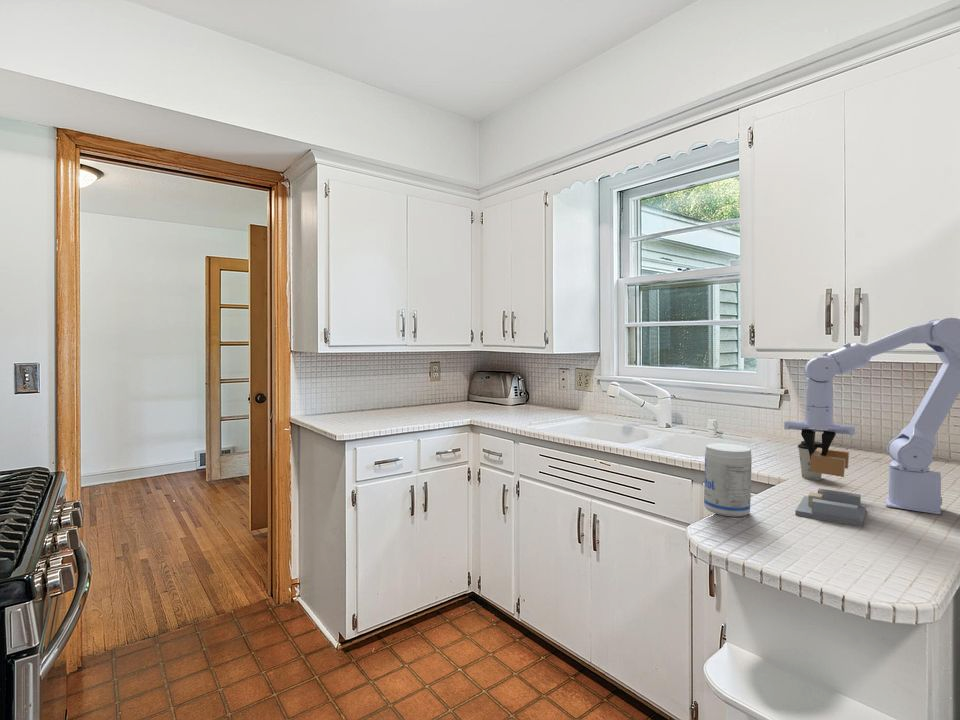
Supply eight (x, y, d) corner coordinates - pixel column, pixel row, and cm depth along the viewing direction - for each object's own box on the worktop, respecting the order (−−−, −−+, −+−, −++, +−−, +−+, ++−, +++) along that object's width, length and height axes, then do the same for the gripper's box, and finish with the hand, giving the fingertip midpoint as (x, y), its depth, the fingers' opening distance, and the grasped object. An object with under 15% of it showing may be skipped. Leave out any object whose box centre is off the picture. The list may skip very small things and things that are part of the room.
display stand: (865, 510, 118) (866, 494, 118) (862, 526, 107) (862, 510, 107) (804, 500, 125) (804, 485, 125) (795, 514, 114) (795, 499, 114)
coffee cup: (832, 479, 145) (832, 444, 144) (813, 481, 142) (813, 445, 142) (809, 473, 151) (809, 439, 151) (791, 475, 149) (791, 441, 149)
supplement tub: (696, 505, 122) (696, 443, 121) (734, 503, 123) (734, 442, 122) (719, 519, 112) (719, 451, 112) (760, 517, 113) (761, 450, 113)
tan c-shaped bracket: (848, 467, 129) (849, 451, 129) (843, 476, 120) (844, 459, 120) (816, 462, 133) (817, 447, 133) (810, 471, 124) (811, 455, 124)
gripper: (856, 406, 126) (855, 462, 126) (788, 402, 135) (787, 454, 136) (854, 409, 121) (852, 467, 121) (783, 405, 130) (782, 458, 130)
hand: (817, 460), depth 128 cm, fingers closed on tan c-shaped bracket, 2 cm apart
